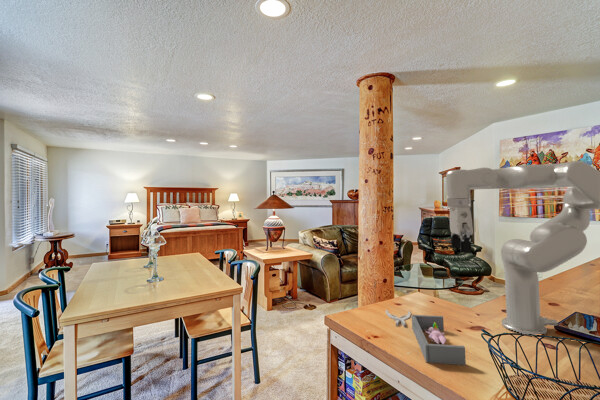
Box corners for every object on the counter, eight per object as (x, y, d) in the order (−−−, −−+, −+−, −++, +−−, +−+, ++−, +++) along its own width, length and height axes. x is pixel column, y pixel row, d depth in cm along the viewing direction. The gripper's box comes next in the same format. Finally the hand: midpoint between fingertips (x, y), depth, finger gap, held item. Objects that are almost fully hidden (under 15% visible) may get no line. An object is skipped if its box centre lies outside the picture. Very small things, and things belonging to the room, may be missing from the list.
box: (443, 329, 101) (442, 316, 101) (465, 365, 80) (465, 347, 80) (412, 328, 103) (411, 314, 103) (426, 362, 82) (425, 345, 82)
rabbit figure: (423, 334, 101) (430, 349, 87) (422, 317, 102) (428, 328, 88) (442, 336, 99) (452, 351, 85) (441, 318, 100) (450, 330, 86)
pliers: (409, 308, 118) (414, 324, 104) (409, 312, 118) (414, 328, 104) (385, 307, 121) (386, 322, 106) (385, 311, 121) (387, 326, 106)
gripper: (480, 203, 93) (482, 254, 93) (461, 202, 110) (463, 246, 110) (455, 204, 95) (457, 254, 95) (441, 203, 112) (442, 246, 112)
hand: (460, 250), depth 103 cm, fingers open, 9 cm apart
